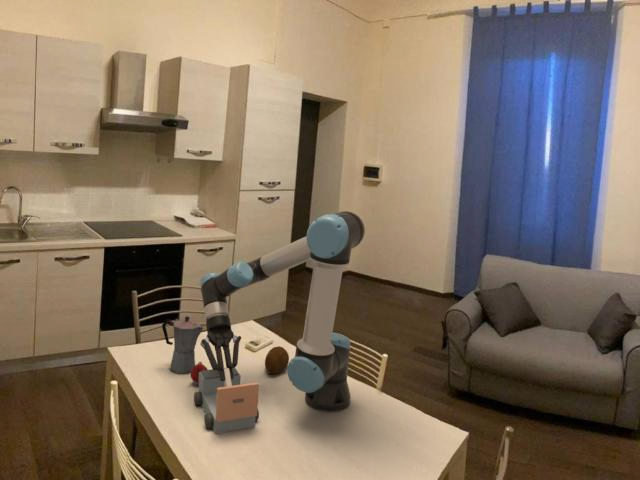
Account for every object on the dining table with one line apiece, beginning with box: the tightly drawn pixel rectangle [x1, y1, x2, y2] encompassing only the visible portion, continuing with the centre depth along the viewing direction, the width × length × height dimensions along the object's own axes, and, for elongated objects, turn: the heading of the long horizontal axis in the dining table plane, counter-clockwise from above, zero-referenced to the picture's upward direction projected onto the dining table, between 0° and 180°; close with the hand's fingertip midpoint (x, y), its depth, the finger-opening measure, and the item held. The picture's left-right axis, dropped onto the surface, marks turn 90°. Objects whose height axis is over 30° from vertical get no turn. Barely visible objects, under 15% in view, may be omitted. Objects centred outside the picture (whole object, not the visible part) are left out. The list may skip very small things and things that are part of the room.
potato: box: [264, 346, 290, 375], centre depth 198 cm, size 8×12×9 cm
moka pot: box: [161, 316, 205, 374], centre depth 192 cm, size 10×15×20 cm, turn 89°
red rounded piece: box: [189, 361, 208, 385], centre depth 183 cm, size 6×6×8 cm
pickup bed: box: [193, 367, 260, 434], centre depth 165 cm, size 22×16×10 cm
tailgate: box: [216, 381, 260, 422], centre depth 154 cm, size 2×12×10 cm, turn 116°
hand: (228, 390), depth 160 cm, fingers closed
